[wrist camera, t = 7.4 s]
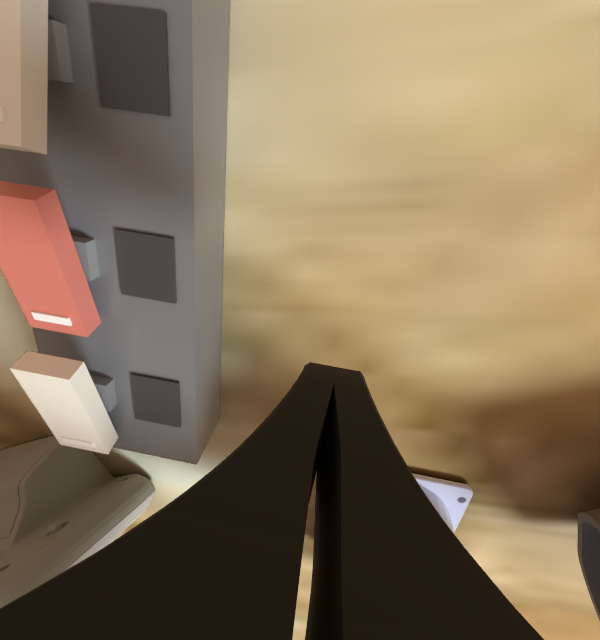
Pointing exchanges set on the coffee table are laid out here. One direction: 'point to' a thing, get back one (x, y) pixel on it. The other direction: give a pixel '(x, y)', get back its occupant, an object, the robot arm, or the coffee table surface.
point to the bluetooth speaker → (590, 552)
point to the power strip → (141, 206)
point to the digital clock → (59, 511)
